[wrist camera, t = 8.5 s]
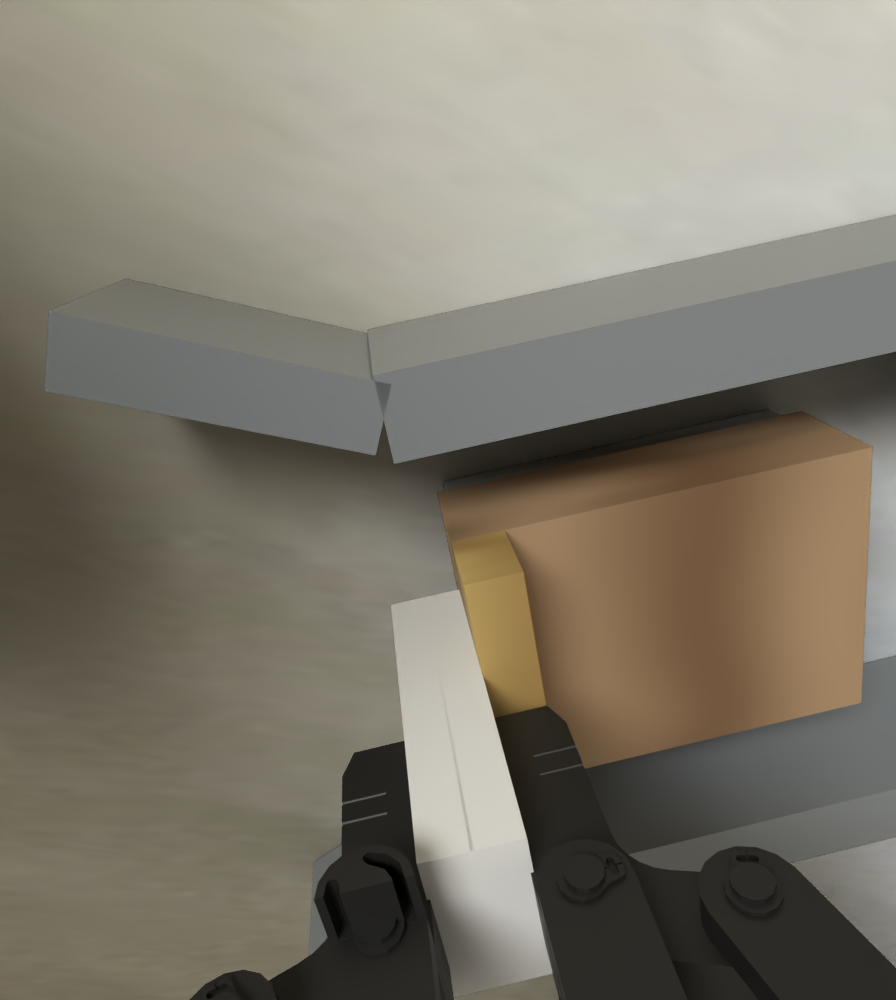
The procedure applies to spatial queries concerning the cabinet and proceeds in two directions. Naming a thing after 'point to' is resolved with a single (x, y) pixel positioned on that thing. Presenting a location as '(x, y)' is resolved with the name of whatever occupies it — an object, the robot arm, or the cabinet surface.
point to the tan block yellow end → (670, 581)
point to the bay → (541, 406)
